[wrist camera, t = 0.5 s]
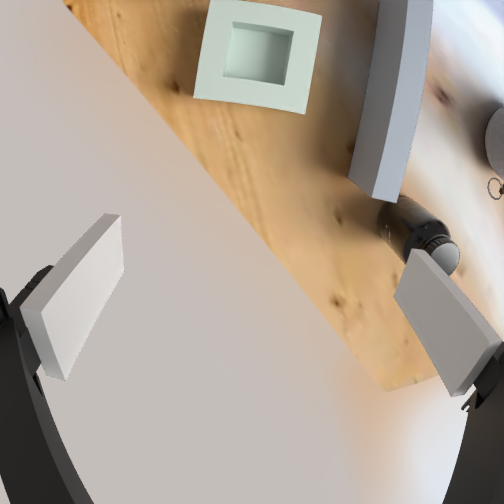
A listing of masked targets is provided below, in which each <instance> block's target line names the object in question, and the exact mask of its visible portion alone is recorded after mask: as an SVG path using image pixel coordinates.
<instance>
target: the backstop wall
mask: <svg viewBox="0 0 504 504" xmlns="http://www.w3.org/2000/svg"><path fill="white" fill-rule="evenodd" d="M432 13H433V0H381V1H380V3H379V11H378V19H377V26H376V34H375V41H374V47H373V54H372V60H371V66H370V72H369V78H368V83H367V89H366V94H365V100H364V105H363V110H362V115H361V120H360V125H359V130H358V134H357V139H356V143H355V148H354V152H353V157H352V161H351V166H350V170H349V174H348V179H350V180H351V181H352V182H353V183H355V184H356V185H357V186H358V187H359V188H361V189H362V190H363V191H364V192H366V193H367V194H368V195H369V196H370V197H372V198H376V199H381V200H385V201H389V202H394V203H397V199H398V196H399V192H400V189H401V185H402V181H403V178H404V174H405V170H406V166H407V162H408V158H409V154H410V150H411V146H412V142H413V137H414V133H415V128H416V123H417V119H418V114H419V109H420V103H421V98H422V92H423V86H424V80H425V74H426V67H427V60H428V53H429V44H430V35H431V25H432Z"/></svg>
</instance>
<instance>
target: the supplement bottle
mask: <svg viewBox="0 0 504 504" xmlns="http://www.w3.org/2000/svg"><path fill="white" fill-rule="evenodd" d="M377 224H378V230H379V233H380V235H381V236H382V238H383V239H384V240H385V241H386V243H387V244H388V245H389V246H390V247H391V248H392V249H393V251H394V252H395V253H396V254H397V255H398V257H399V258H400V259H401V260H402V261H403V262H404V264H405V265H406V263H407V261H408V258H409V255H410V252H411V250H412V248H413V249H420V250H425V251H426V252H427V253H428V255H429V256H430V257H431V258H432V259H433V260H434V261H435V262H436V263H437V264H438V265H439V266H440V267H441V268H442V269H443V270H444V271H445V273H446V274H447V275H448V276H450V274H452V273H453V271H454V270H455V268H456V267H457V265H458V263H459V257H460V252H459V248H458V246H457V245H456V244H455V243H454V242H453V241H452V240H451V236H450V232H449V230H448V228H447V226H446V225H445V224H444V223H443V222H442V221H441V220H440V219H438V218H437V217H436V216H434V215H433V214H432V213H430V212H429V211H428V210H426V209H425V208H424V207H422V206H421V205H420V204H418V203H417V202H415V201H414V200H412V199H410V198H408V197H398V199H397V203H394V202H387V203H386V204H385V205H384V206H383V208H382V209H381V211H380V213H379V216H378V222H377Z"/></svg>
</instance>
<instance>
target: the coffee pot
mask: <svg viewBox="0 0 504 504" xmlns="http://www.w3.org/2000/svg"><path fill="white" fill-rule="evenodd" d="M485 147H486V152H487V157H488V160H489V163H490V165H491V167H492V168H493V170H494V171H495V172H496V174H497V175H498V176H499V177H501V178H502V179H503V180H504V107H502V108H500V109H498V110H497V111H496V112H495V113H494V114H493V116H492V117H491V119H490V121H489V123H488V126H487V129H486V134H485ZM492 179H496V180H497V181H499V183H500V185H501V188H500V190H499V192H500V194H501V196H502V194H504V184H503V185H502V184H501V182H500V180H499V179H497V178H491V179H490V181H491V180H492ZM490 181H489V182H488V191H489V194H490V196H491V197H492V198H493V199H495V200H499V199H500V198H501V196H500V197H499V198H494V197H493V196H492V195H491V193H490V190H489V183H490Z"/></svg>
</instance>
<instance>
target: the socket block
mask: <svg viewBox="0 0 504 504" xmlns="http://www.w3.org/2000/svg"><path fill="white" fill-rule="evenodd" d="M321 21H322V16H321V15H317V14H313V13H309V12H305V11H300V10H295V9H290V8H285V7H280V6H274V5H268V4H262V3H255V2H247V1H239V0H211V1H210V5H209V10H208V15H207V20H206V25H205V30H204V36H203V41H202V47H201V52H200V58H199V64H198V70H197V77H196V83H195V90H194V97H193V98H197V99H208V100H217V101H226V102H234V103H241V104H248V105H255V106H262V107H268V108H274V109H279V110H285V111H290V112H295V113H301V114H305V112H306V106H307V101H308V96H309V90H310V85H311V79H312V73H313V68H314V62H315V56H316V50H317V45H318V39H319V33H320V27H321Z"/></svg>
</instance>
